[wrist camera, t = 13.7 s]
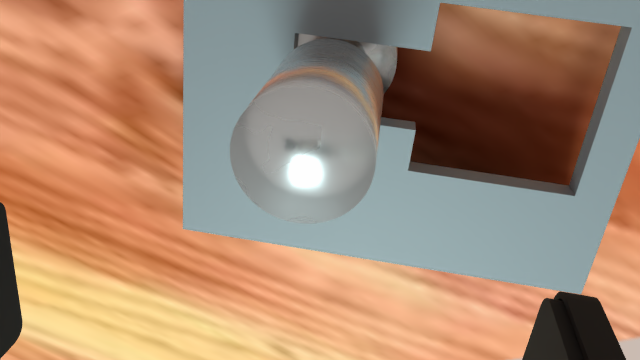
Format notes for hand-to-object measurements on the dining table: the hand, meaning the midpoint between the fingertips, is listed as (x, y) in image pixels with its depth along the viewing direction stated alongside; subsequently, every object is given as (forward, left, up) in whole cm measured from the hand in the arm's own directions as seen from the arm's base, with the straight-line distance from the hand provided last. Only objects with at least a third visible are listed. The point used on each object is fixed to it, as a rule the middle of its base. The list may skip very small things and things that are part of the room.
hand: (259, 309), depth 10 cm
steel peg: (0, 0, -19) cm, 19 cm away
